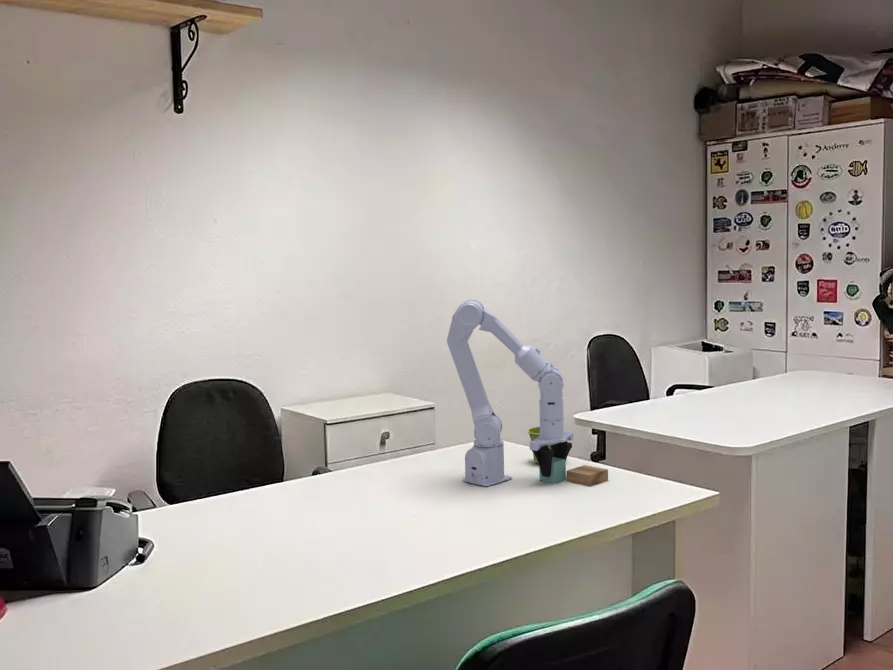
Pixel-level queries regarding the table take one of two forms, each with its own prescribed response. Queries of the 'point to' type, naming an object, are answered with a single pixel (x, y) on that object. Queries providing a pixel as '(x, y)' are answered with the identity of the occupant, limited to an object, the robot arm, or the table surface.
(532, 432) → the plant pot
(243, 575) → the table surface
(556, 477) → the teal cube
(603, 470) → the walnut slab
